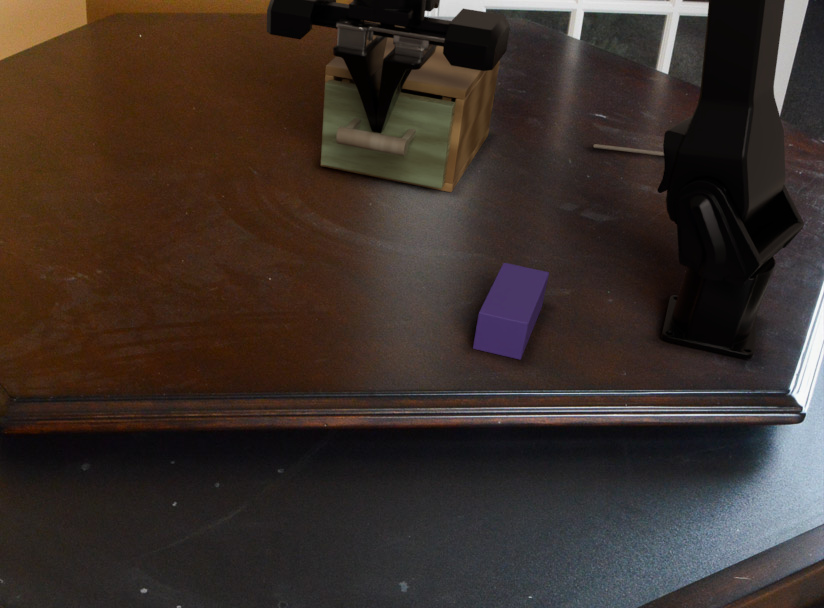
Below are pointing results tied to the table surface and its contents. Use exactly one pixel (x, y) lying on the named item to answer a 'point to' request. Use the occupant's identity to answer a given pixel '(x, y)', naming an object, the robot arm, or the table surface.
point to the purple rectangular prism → (510, 311)
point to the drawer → (388, 135)
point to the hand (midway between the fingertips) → (378, 131)
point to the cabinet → (450, 81)
